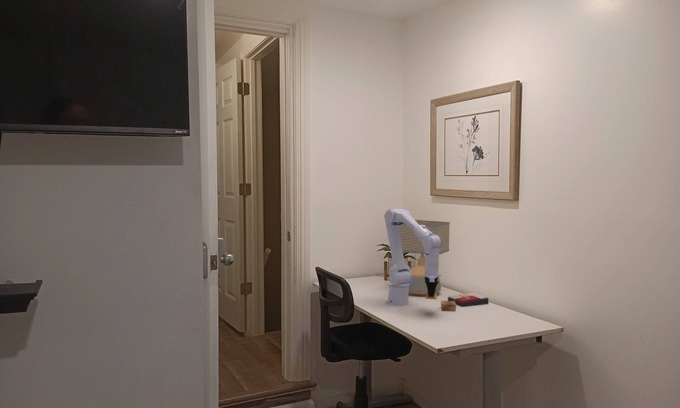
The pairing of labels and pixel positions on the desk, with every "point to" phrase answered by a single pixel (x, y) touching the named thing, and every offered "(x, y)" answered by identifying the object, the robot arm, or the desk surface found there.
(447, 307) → the walnut slab
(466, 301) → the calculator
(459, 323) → the desk surface
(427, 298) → the oak cube
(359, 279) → the desk surface
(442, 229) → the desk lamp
